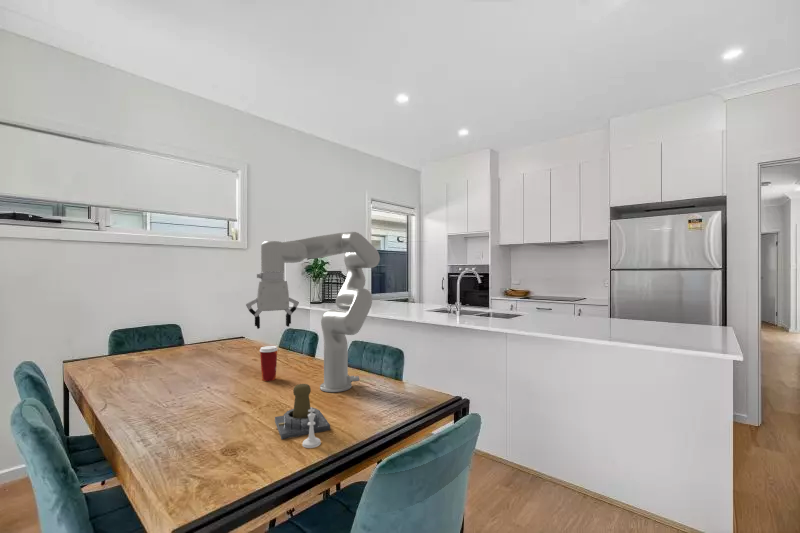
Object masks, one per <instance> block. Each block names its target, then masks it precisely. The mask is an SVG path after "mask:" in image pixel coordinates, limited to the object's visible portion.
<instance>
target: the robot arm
mask: <svg viewBox="0 0 800 533" xmlns="http://www.w3.org/2000/svg"><path fill="white" fill-rule="evenodd" d="M260 246H261V247H260V250H261V251H260V253H261V254H260V257H261V258H260V260H261V264H260V265H261V267H260V269H261V270H260V271H261V272H260V273H257V274H256V279H260V280H261V281H259V282H258V288H257V294H256V295H257V296H256V298H253V299H252V300H251V301H249V302H246V303H245V307H246V308H247V310H248V311H249V313H250V314H252V315H253V316H254V327H256V329H257V330H259V329H260V328H261V318H260V314H261V313H262V312H271V311H272V312H273V311H277V312H278V311H285V312H286V314H285V326H286V327H287V328H288V327H290V325H291V324H292V314H293V313H294V312H295V311H296V310H297V308H298V306H299V304H300V303H299V302H300V301H298V300H296V299H293V298H291V297H290V294H289V293H290V292H289V285H288V282H287V280H285V264H288V263H290V264H295V263H300V262H302V261H304V260H306V259H321V258H327V257H331V256H336V255H341V254H344V257H343V259H344V260H343V261H344V265H345V268H346V277H345V281H344V282H343V284H342V286H341V288H340V290H339V292H338V293H337V296H336V298H335V305H336V307H337V308H338V309H336V308H335V309H333V308H332V309H329V310H326V311H325V312H324V313H323V315H321V318H320V319H321V320H320V325H321V331H322V337H323V382H322V383H321V384H320V385H319V389H320V390H321V391H323V392H326V393H340V392H345V391H348V390H350V389H351V388H352V383H353V382H359V381H360V376H359V375H357V376H355V375H349V374H348V371H349V370H348V369H349V367H348V366H349V364H348V358H349V356H348V351H349V350H348V345H349V344H348V340H347V337H346V336H354V335H357V334H358V333H359V332H360V331H361V329H362V327H363V325H364V323H365V321H366V319H367V316H368V314H369V312H370V310H371V309H372V308H371V307H372V304H373V296H372V295H373V294H372V293H371V292H370V290H368V289H366V288H365V286H366V277H365V274H364V271H363V269H374V268H375V267H377V266H378V265H379V263H380V260H381V258H380V257H381V256H380V254H379V251H378V249H377V248H376V247H375V246H374V245H373V244H372V243H370V241H369V240H368V239H367V238H366V237H365V236H364V235H362V234H361V233H359V232H358V231H357V232H356V231H347V232H338V233H331V234H325V235H317V236H311V237H306V238H302V239H301V238H300V239H294V240H290V241H289V240H288V241H284V242H283V241H276V240H267V241H263V242H262V243H261V245H260ZM290 303H292V304H293V305H292V307H291V308H290ZM256 304H257V307H256V308H257V309H256V310H254V309H253V308H252V306H253V305H256ZM289 308H290V309H289Z"/></svg>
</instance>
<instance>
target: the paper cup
mask: <svg viewBox="0 0 800 533" xmlns="http://www.w3.org/2000/svg"><path fill="white" fill-rule="evenodd" d="M278 350H279V349H278V346H275V345H267V346H266V345H265V346H261V347H260V349H259V353H260V367H261V368H260V369H261V380H262V381H263V382H272V381H275V380H276V377H277V359H278Z"/></svg>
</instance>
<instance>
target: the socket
mask: <svg viewBox="0 0 800 533" xmlns="http://www.w3.org/2000/svg"><path fill="white" fill-rule="evenodd" d="M311 407H312V406H310V408H311ZM314 409H315V411H314V412H312V413H314V414H315V417H314V422H315V425H313V427H314V434H317V433H322V432H328V431H331V424H330V423H329V421H328V419H326V417H325V416H324V414H323V413H322V411H321V410H320V409H318V408H315V407H312V410H314ZM293 410H294V408H291V409H288V410H287V411H286V412H285V413H284V414H283V415H280V416H279V415H278V416H274V423H275V426H276V429H277V430H278V433H279V436H280V438H281V440H286V439H292V438H296V437H301V436H307V435H309V429H310V425H308V422H310V421H309V418H308V417H304V418H293Z"/></svg>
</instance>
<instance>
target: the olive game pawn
mask: <svg viewBox="0 0 800 533" xmlns="http://www.w3.org/2000/svg"><path fill="white" fill-rule="evenodd" d="M292 390H293V396H294V403H293V409H294V410H293V418H304V417H308V414H310V413H311V412H308V410H311V409H310V407H311V402H310V394H311V386H310V385H309V384H308V383H300V384H297V385H295V386H293V389H292Z"/></svg>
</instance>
